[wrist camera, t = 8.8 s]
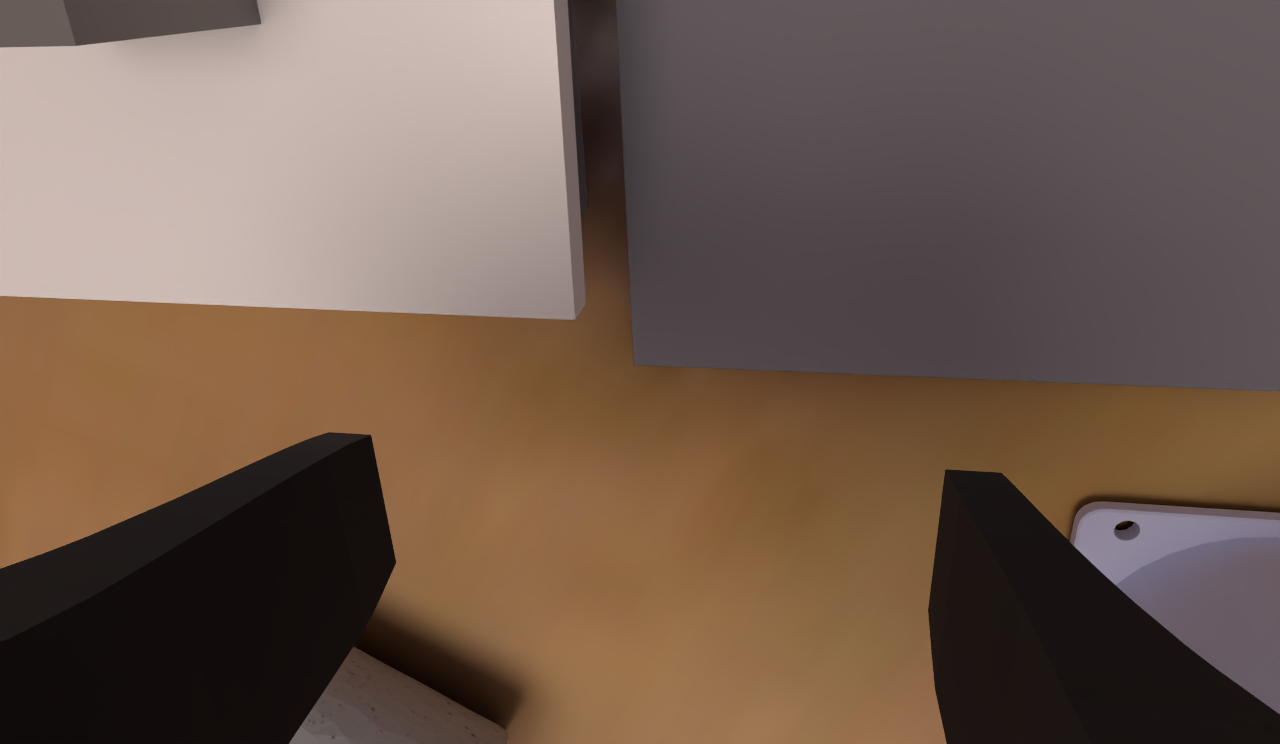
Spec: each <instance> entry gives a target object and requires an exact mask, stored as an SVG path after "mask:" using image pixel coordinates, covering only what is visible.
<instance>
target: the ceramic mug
mask: <svg viewBox="0 0 1280 744" xmlns="http://www.w3.org/2000/svg"><path fill="white" fill-rule="evenodd" d="M507 739H508V736H507V732H506V731H505V730H504V729H503V728H502V727H501V726H499V725H498V724H496V723H494V722H492V721H490V720H488V719H486V718H484V717H483V716H481V715H479V714H477V713H475V712H473V711H471V710H469V709H467V708H465V707H464V706H462V705H460V704H458V703H457V702H455V701H453V700H451V699H449V698H448V697H446V696H444V695H442V694H440V693H439V692H437V691H435V690H433V689H431V688H430V687H428V686H426V685H424V684H422V683H421V682H419V681H417V680H415V679H413V678H411V677H409V676H407V675H405V674H403V673H401V672H399V671H398V670H396V669H394V668H392V667H390V666H388V665H386V664H384V663H383V662H381V661H379V660H377V659H375V658H374V657H372V656H370V655H368V654H367V653H365V652H363V651H361V650H359V649H358V648H356V647H354V646H353V648H352V650H351V651H350V653H349V654H348V656H347V657H346V659H345V660H344V662H343V663H342V665H341V666H340V668H339V669H338V671H337V672H336V674H335V676H334V677H333V679H332V680H331V682H330V683H329V685H328V686H327V688H326V689H325V691H324V692H323V694H322V695H321V696H320V698H319V699H318V701H317V702H316V704H315V705H314V707H313V708H312V710H311V711H310V713H309V714H308V716H307V717H306V719H305V720H304V722H303V723H302V725H301V726H300V728H299V729H298V731H297V732H296V734H295V735H294V737H293V738H292V740H291V741H290V743H289V744H507Z"/></svg>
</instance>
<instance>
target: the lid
mask: <svg viewBox="0 0 1280 744" xmlns="http://www.w3.org/2000/svg"><path fill="white" fill-rule="evenodd" d="M0 296H20V297H43V298H67V299H91V300H114V301H138V302H161V303H185V304H209V305H232V306H256V307H280V308H303V309H327V310H351V311H374V312H398V313H422V314H445V315H469V316H492V317H516V318H540V319H563V320H575V319H576V318H577V317H578V315H579V314H580V312H581V311H582V309H583V308H584V306H585V305H586V295H585V279H584V263H583V246H582V230H581V213H580V197H579V181H578V164H577V148H576V131H575V115H574V99H573V82H572V66H571V50H570V33H569V17H568V0H0Z"/></svg>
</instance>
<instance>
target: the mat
mask: <svg viewBox="0 0 1280 744" xmlns="http://www.w3.org/2000/svg"><path fill="white" fill-rule="evenodd" d="M616 20H617V40H618V60H619V80H620V100H621V120H622V140H623V160H624V180H625V200H626V220H627V239H628V259H629V279H630V299H631V319H632V339H633V359H634V365H647V366H672V367H696V368H720V369H745V370H769V371H793V372H817V373H842V374H866V375H890V376H915V377H939V378H963V379H988V380H1012V381H1036V382H1060V383H1085V384H1109V385H1133V386H1158V387H1182V388H1206V389H1231V390H1255V391H1279V392H1280V0H616Z"/></svg>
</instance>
